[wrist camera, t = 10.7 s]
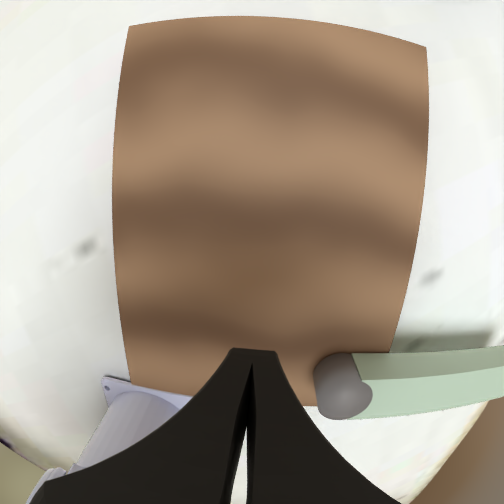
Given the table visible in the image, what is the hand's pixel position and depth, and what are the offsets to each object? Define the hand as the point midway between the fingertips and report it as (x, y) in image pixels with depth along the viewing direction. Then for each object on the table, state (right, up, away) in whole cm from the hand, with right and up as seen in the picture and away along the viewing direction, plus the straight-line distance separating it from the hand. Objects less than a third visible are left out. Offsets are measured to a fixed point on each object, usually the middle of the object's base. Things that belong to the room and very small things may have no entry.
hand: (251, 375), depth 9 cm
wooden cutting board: (+1, +5, +8) cm, 10 cm away
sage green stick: (+12, -4, +7) cm, 14 cm away
